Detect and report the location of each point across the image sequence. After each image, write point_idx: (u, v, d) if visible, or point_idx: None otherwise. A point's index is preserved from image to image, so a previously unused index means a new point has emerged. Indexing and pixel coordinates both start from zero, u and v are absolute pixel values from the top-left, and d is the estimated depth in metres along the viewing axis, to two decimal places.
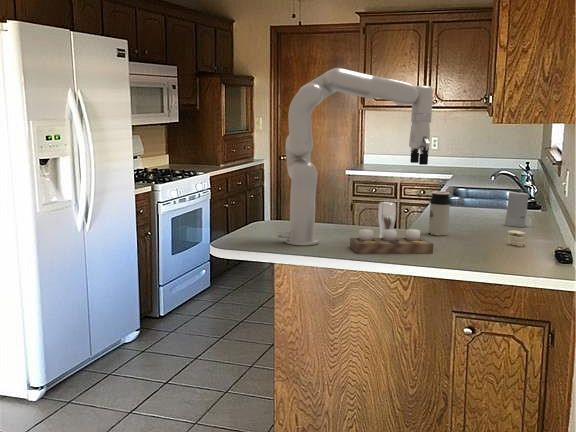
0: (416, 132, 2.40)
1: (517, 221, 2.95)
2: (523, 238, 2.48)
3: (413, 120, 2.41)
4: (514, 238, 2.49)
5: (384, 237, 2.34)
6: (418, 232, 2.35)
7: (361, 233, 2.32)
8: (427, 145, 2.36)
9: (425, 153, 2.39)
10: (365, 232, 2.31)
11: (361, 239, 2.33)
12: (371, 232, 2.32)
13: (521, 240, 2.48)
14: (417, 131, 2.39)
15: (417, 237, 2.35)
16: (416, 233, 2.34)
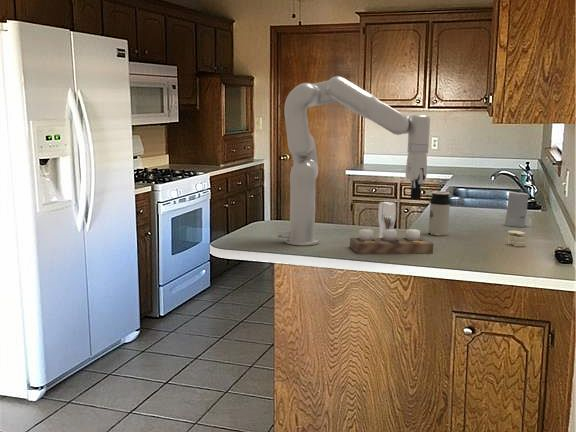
0: (413, 163, 2.29)
1: (517, 221, 2.95)
2: (523, 238, 2.48)
3: (409, 150, 2.30)
4: (514, 238, 2.49)
5: (384, 237, 2.34)
6: (418, 232, 2.35)
7: (361, 233, 2.32)
8: (420, 184, 2.29)
9: (418, 187, 2.32)
10: (365, 232, 2.31)
11: (361, 239, 2.33)
12: (371, 232, 2.32)
13: (521, 240, 2.48)
14: (414, 162, 2.28)
15: (417, 237, 2.35)
16: (416, 233, 2.34)
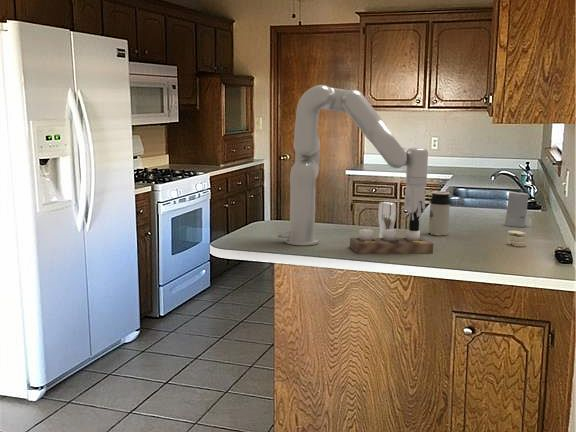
0: (411, 196, 2.31)
1: (517, 221, 2.95)
2: (523, 238, 2.48)
3: (408, 183, 2.32)
4: (514, 238, 2.48)
5: (384, 237, 2.34)
6: (418, 232, 2.35)
7: (361, 233, 2.32)
8: (418, 216, 2.31)
9: (416, 220, 2.34)
10: (365, 232, 2.31)
11: (361, 239, 2.33)
12: (371, 232, 2.32)
13: (521, 240, 2.47)
14: (412, 195, 2.30)
15: (417, 237, 2.35)
16: (416, 233, 2.34)
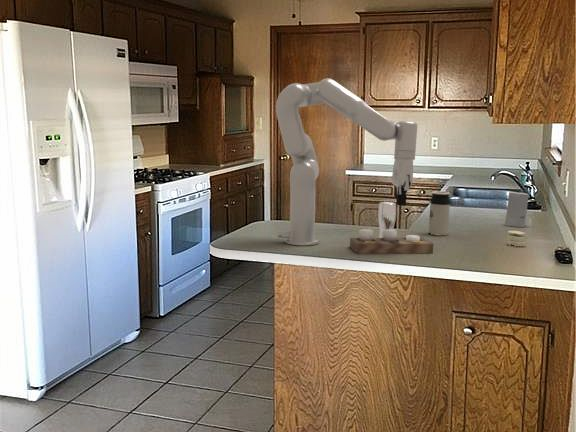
0: (399, 169, 2.29)
1: (517, 221, 2.95)
2: (523, 238, 2.48)
3: (396, 157, 2.30)
4: (514, 238, 2.48)
5: (384, 237, 2.34)
6: (418, 238, 2.35)
7: (361, 233, 2.32)
8: (406, 190, 2.29)
9: (403, 194, 2.32)
10: (365, 232, 2.31)
11: (361, 239, 2.33)
12: (371, 232, 2.32)
13: (521, 240, 2.47)
14: (400, 168, 2.28)
15: None
16: (416, 239, 2.35)
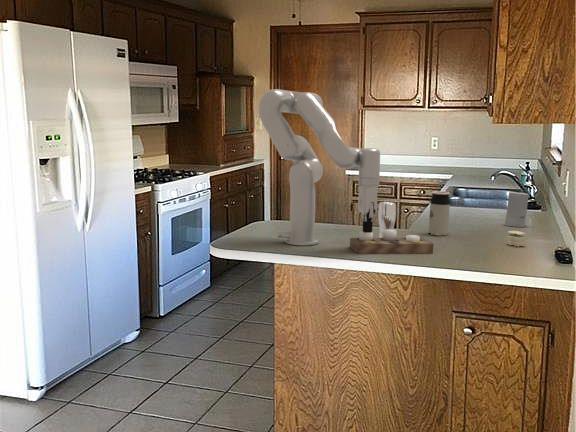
0: (363, 197, 2.29)
1: (517, 221, 2.95)
2: (523, 238, 2.47)
3: (360, 184, 2.29)
4: (514, 238, 2.48)
5: (384, 237, 2.34)
6: (418, 238, 2.35)
7: (361, 235, 2.33)
8: (370, 218, 2.28)
9: (369, 221, 2.31)
10: (365, 234, 2.32)
11: None
12: (371, 234, 2.32)
13: (521, 240, 2.47)
14: (364, 196, 2.27)
15: None
16: (416, 239, 2.35)
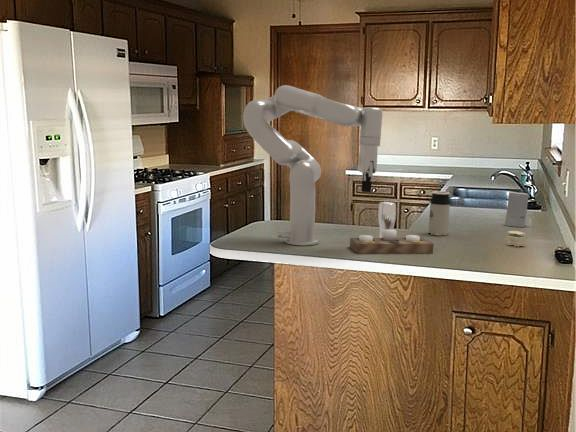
0: (363, 156, 2.28)
1: (517, 221, 2.95)
2: (523, 239, 2.47)
3: (361, 143, 2.29)
4: (514, 238, 2.48)
5: (384, 237, 2.34)
6: (418, 238, 2.35)
7: (361, 239, 2.33)
8: (370, 177, 2.28)
9: (368, 180, 2.31)
10: (365, 238, 2.32)
11: None
12: (371, 238, 2.32)
13: (521, 241, 2.47)
14: (364, 154, 2.27)
15: None
16: (416, 239, 2.35)
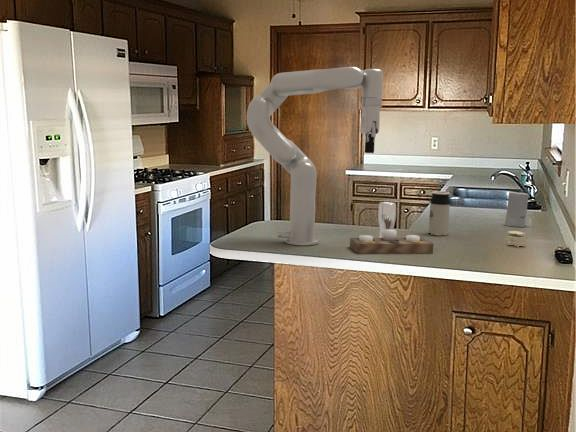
0: (365, 117, 2.32)
1: (517, 221, 2.95)
2: (523, 239, 2.47)
3: (363, 104, 2.33)
4: (514, 239, 2.48)
5: (384, 237, 2.34)
6: (418, 238, 2.35)
7: (361, 239, 2.33)
8: (373, 137, 2.32)
9: (371, 141, 2.35)
10: (365, 238, 2.32)
11: None
12: (371, 238, 2.32)
13: (521, 241, 2.46)
14: (367, 115, 2.31)
15: None
16: (416, 239, 2.35)
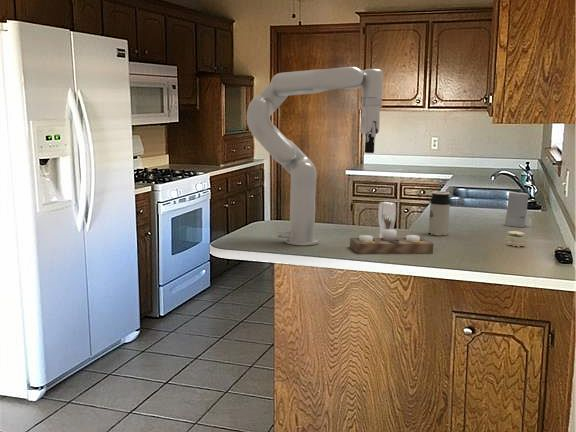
0: (365, 117, 2.32)
1: (517, 221, 2.95)
2: (523, 239, 2.47)
3: (363, 104, 2.33)
4: (514, 239, 2.47)
5: (384, 237, 2.34)
6: (418, 238, 2.35)
7: (361, 239, 2.33)
8: (373, 137, 2.32)
9: (371, 141, 2.35)
10: (365, 238, 2.32)
11: None
12: (371, 238, 2.32)
13: (521, 241, 2.46)
14: (367, 115, 2.31)
15: None
16: (416, 239, 2.35)
